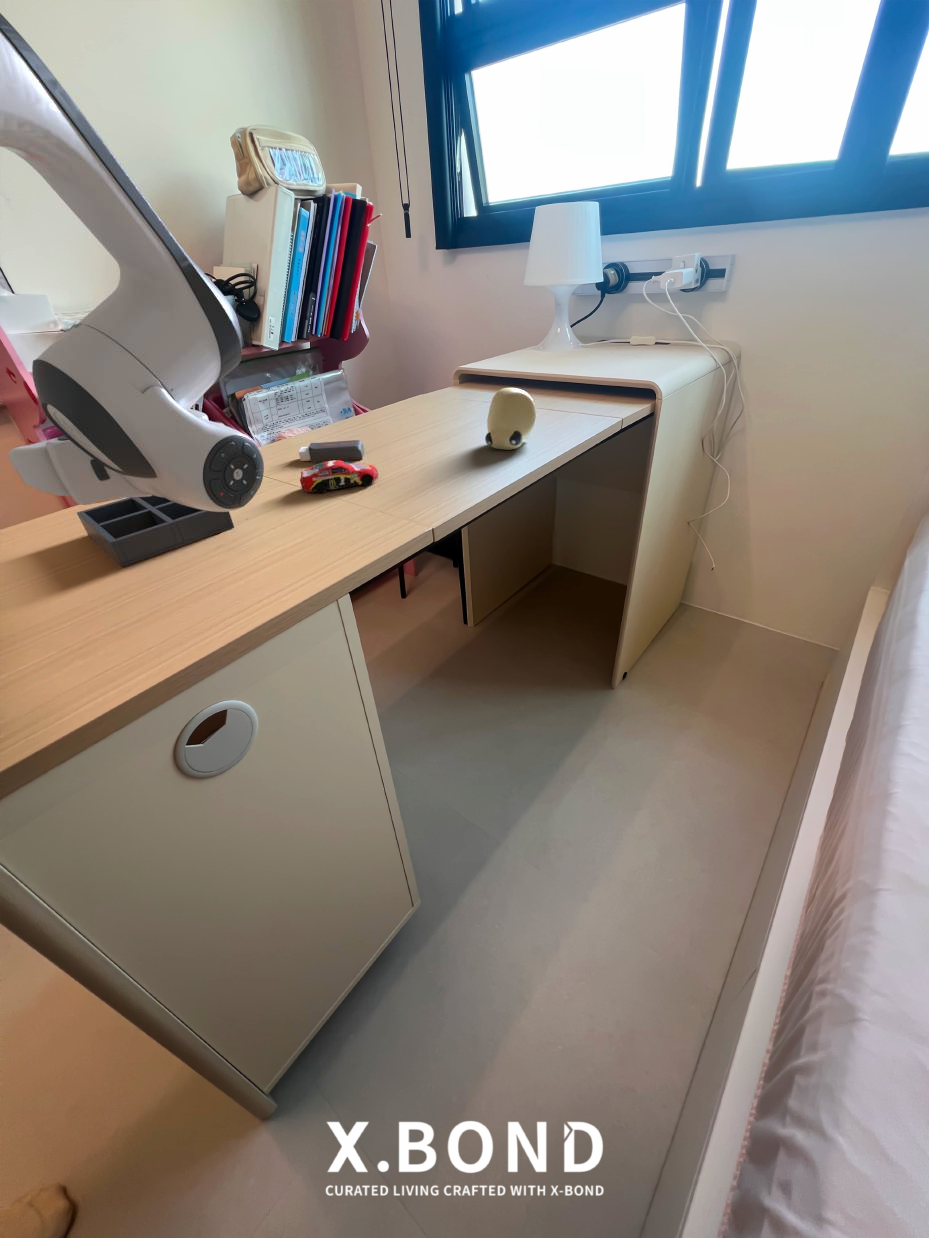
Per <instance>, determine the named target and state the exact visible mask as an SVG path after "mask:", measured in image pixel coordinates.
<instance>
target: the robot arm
mask: <svg viewBox="0 0 929 1238" xmlns="http://www.w3.org/2000/svg"><path fill="white" fill-rule="evenodd" d="M0 148H4V149H6V150H8V151H10V152H11V153H13V154H15V155H16V156H18V157H19V158H21V159H22V160H23V161H24V162H26V163H27V164H28V165H29V166H30V167H32V168H33V169H34V170H35V171H36V172H37V173H38V174H39V175H40V176H41V177H42V179H43V180H44V181H45V182H46V183H47V184H48V185H49V186H50V188H51V189H52V190H53V191H54V192H55V193H56V194H57V196H58V197H59V198H60V199H61V200H62V201H63V202H64V203H65V205H67V207H68V208H69V209H70V210H71V211H72V212H73V214H74V216H76V217H77V218H78V219H79V221H80V222H81V223H82V224H83V225H84V226H85V227H86V229H87V230H88V231H89V232H90V233H91V234H92V235H93V236H94V238H95V239H96V240H97V241H98V242H99V243H100V244H101V245H102V247H103V248H104V249H105V250H106V251H107V252H108V254H109V255H110V256H111V257H112V258H113V259H114V261H116V263H117V265H118V268H119V280H118V284H117V286H116V288H115V289H114V291H112V292H111V294H110V295H108V296H107V297H106V298H105V299H104V300H103V301H101V302H100V303H99V304H98V305H97V306H96V307H95V308H93V310H91V311H89V313H88V314H87V315H85V316H84V317H83V318H82V319H81V320H80V321H78V323H74V324H73V325H72V326H71V327H70V328H68V329H67V330H66V331H65V332H63V333H62V334H61V335H60V336H59V337H58V338H57V339H55V340H54V342H52V344H50V345H49V346H48V347H47V348H46V349H44V351H42V352H41V354H39V355H38V357H37V358H35V359H34V360H32V366H31V370H32V373H31V374H32V379H33V385H34V389H35V391H36V394H37V398H38V401H39V402H40V405H41V408H42V410H43V413H44V414H45V416H46V417H47V419H48V420H49V422H51V424H52V425H53V426H54V427H55V428H56V429H57V430H58V431H59V432H60V433H61V434H62V435H60V436H58V437H54V438H51V439H47V440H43V441H40V442H35V443H30V444H27V445H22V446H18V447H17V446H16V447H14V448H11V449H10V450H9V451H8V452H7V455H8V458H9V461H10V462H11V464H12V466H13V468H14V469H15V471H16V473H17V474H18V476H19V478H20V479H21V481H22V482H23V483H24V484H25V485H26V486H27V487H29V488H31V489H34V490H37V491H40V492H43V493H46V494H49V495H52V496H58V497H71V498H72V500H73V501H74V502H75V503H76V504H77V505H80V506H89V505H95V504H101V503H105V502H109V501H110V502H111V501H117V500H122V499H126V498H129V497H148V496H152V495H154V496H158V497H164V498H167V499H168V500H170V501H173V502H175V503H178V504H181V505H184V506H188V507H192V508H196V509H201V510H206V511H213V512H228V511H229V512H233V511H236V510H239V509H242V508H243V507H245V506H246V505H247V504H248V503H250V502H251V500H252V499H253V498H254V497H255V495H256V494H257V492H258V491H259V489H260V487H261V485H262V482H263V478H264V473H265V464H264V463H265V462H264V457H263V454H262V452H261V449H260V448H259V446H258V444H257V443H256V442H255V441H254V440H253V439H252V438H251V437H250V436H248V435H246V434H245V433H244V432H243V433H242V432H241V431H239V430H237V429H234V428H233V427H230V426H228V425H225V424H224V423H223V422H217V421H212V420H209V416H208V415H207V414H206V412H205V413H204V412H202V411H200V410H197V409H193V408H192V407H193V406H194V405H195V404H196V403H197V402H198V401H199V400H200V398H202V397H203V395H204V394H205V393H206V392H207V391H208V390H209V389H210V388H211V387H212V386H214V385H216V384H217V383H218V382H220V381H221V380H222V379H223V378H224V377H225V376H227V375H228V374H229V373H230V372H231V371H233V370H234V369H235V368H237V366H239V365H240V363H241V361H242V358H243V357H242V355H243V347H242V346H243V343H242V333H241V327H240V324H239V319H238V316H237V314H236V312H235V310H234V308H233V306H232V305H231V303H230V302H229V300H228V299H227V298H226V296H225V295H224V294H223V293H222V291H221V290H220V289H219V288H218V286H217V285H215V284H214V282H213V280H211V279H210V278H209V276H207V275H206V274H205V273H204V271H203V270H202V269H201V268H200V267H199V266H198V265H197V264H196V263H195V261H194V260H192V258H191V257H190V256H189V255H188V253H187V252H186V251H185V249H183V247H182V245H181V244H180V243H179V242H178V240H177V239H176V238H175V236H174V234H172V232H171V231H170V230H169V228H168V227H167V226H166V224H165V223H164V222H163V220H162V219H161V218H160V216H159V215H158V213H157V212H156V211H155V209H154V208H153V207H152V205H151V204H150V203H149V201H148V200H147V198H146V197H145V196H144V194H143V193H142V192H141V190H140V189H139V187H138V186H137V185H136V183H135V182H134V181H133V179H132V178H131V176H130V175H129V173H128V172H127V171H126V170H125V169H124V167H123V165H122V164H121V163H120V161H119V160H118V159H117V157H116V156H115V155H114V154H113V152H112V151H111V149H110V148H109V146H108V145H107V144H106V143H105V141H104V139H103V138H102V137H101V136H100V134H99V132H97V130H96V129H95V127H94V126H93V125H92V123H91V122H90V120H89V119H88V118H87V117H86V115H85V114H84V113H83V111H82V109H80V108H79V106H78V105H77V104H76V102H75V101H74V100H73V99H72V97H71V95H70V94H69V93H68V92H67V90H66V89H65V88H64V87H63V85H62V84H61V82H60V81H59V80H58V79H57V77H56V76H55V75H54V73H53V72H52V71H51V70H50V69H49V67H48V66H47V64H46V63H45V61H43V60H42V59H41V57H40V56H39V55H38V53H36V51H35V50H34V49H33V47H32V46H31V45H30V44H29V43H28V42H27V41H26V39H25V38H24V37H23V36H22V35H21V34H20V32H19V31H18V30H17V29H16V28H15V27H14V26H13V25H12V24H11V23H10V21H8V19H7V18H6V17H5V16H4V15H3V14H2V12H0Z"/></svg>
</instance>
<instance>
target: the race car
mask: <svg viewBox="0 0 929 1238" xmlns="http://www.w3.org/2000/svg"><path fill="white" fill-rule="evenodd" d="M378 478H379V471H378V469H377V467H376V466H374V465H372V464H369V463H351V462H347V461H340V460H333V461H327V462H321V463H316V464H313V465H312V466H310V467H308V468H307V469H304V470H301V472H300V478H299V483H300V486H301V488H302V491H305V492H310V493H311V492H312V493H316V492H317V493H318V494H325V493H326V492H327V490H328V491H331V490H336V489H342V488H348V487H355V486H360V485H364V486H370V485H372V483H373V482H375V481H377V480H378Z"/></svg>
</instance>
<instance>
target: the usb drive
mask: <svg viewBox="0 0 929 1238" xmlns="http://www.w3.org/2000/svg"><path fill="white" fill-rule="evenodd" d="M364 453H365V447H364V443H363V442H362V440H359V439H353V440H352V439H351V440H339V441H338V440H337V441H326V442H323V441H322V442H310V444H309V446H301V448H300V449H299V451H298V455H299V459H300V462H307V461H308V462H309V461H310V462H311V463H314V464H315V463H316V464H319V463H323V462H327V461H333V460H340V461H344V462H347V461H359V460H360V461H361V460H363V459H364Z"/></svg>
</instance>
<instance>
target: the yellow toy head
mask: <svg viewBox="0 0 929 1238" xmlns="http://www.w3.org/2000/svg"><path fill="white" fill-rule="evenodd" d="M536 408H537V407H536V404H535V402H534V400H533V398H532V396H531V395H530V394H529V393H528V392H527V391H525V390H523V389H521V388H517V387H503V388H501V389H499V390H498V391H497V392H496V393H494V395H493V397H492V400H491V402H490V405H489V408H488V409H489V410H488V413H487V418H486V419H487V420H486V429H487V433H486V435H485V437H484V441H485V444H487V445H488V446H490V447H491V448H493V449H497V450H505V451H506V450H508V451H509V450H516V449H518V448H520V447H521V446H522V445H523V442H524V441H525V440H526V439H529V438H530V437H531V436H530V435H531V433H532V431H533V430H534V427H535V425H536V421H537V409H536Z"/></svg>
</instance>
